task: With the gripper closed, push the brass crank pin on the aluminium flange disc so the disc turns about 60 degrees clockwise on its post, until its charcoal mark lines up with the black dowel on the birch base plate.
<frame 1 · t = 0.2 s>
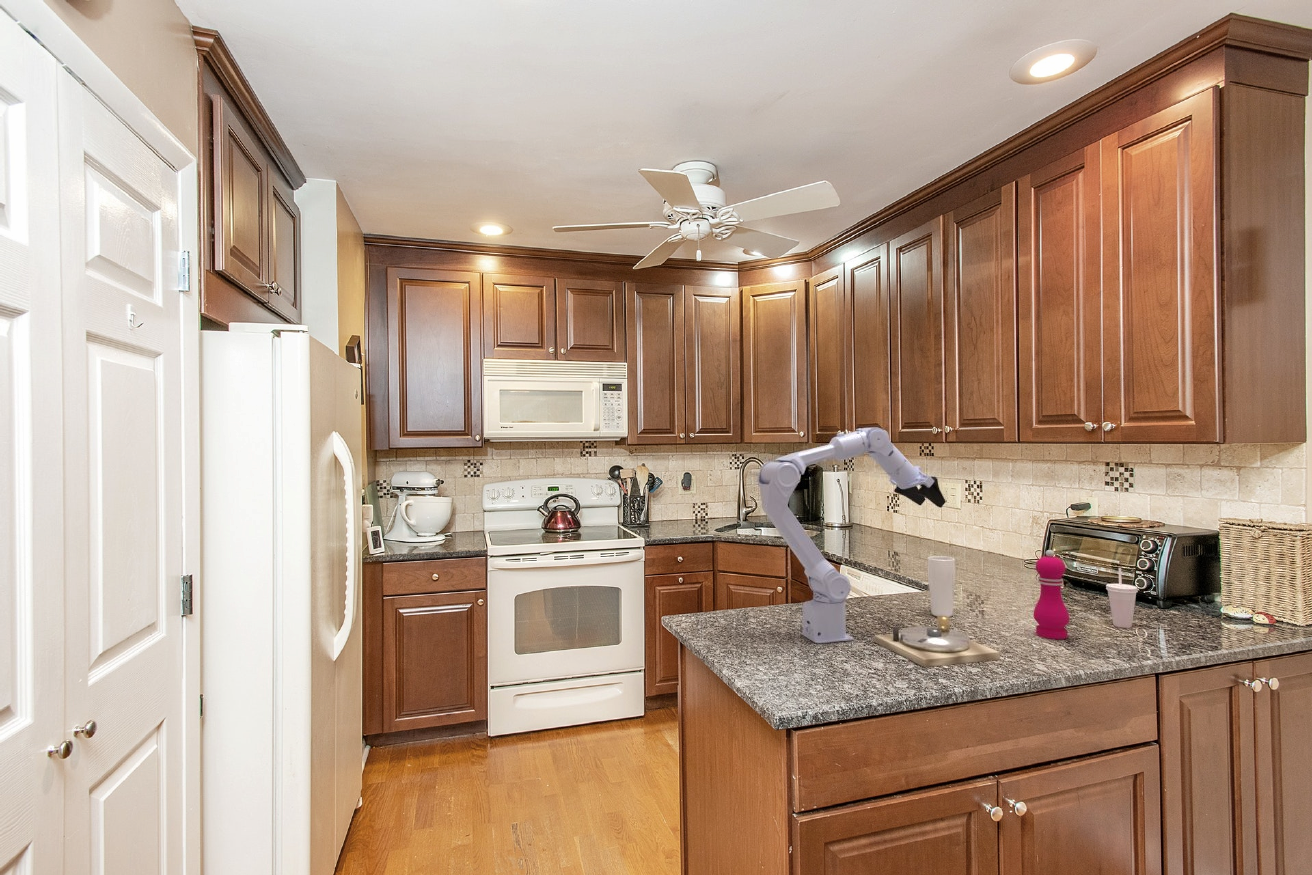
hand: (932, 503, 162), 31 cm above the table, tool tilted 45°, fingers open, 7 cm apart
pepper mill: (1051, 636, 155), on the table
flange disc: (934, 631, 145), point 4 cm above the table, hinge at 0.0°
base plate: (934, 650, 145), on the table
drinking glass: (942, 615, 174), on the table
smoothie: (1122, 626, 162), on the table
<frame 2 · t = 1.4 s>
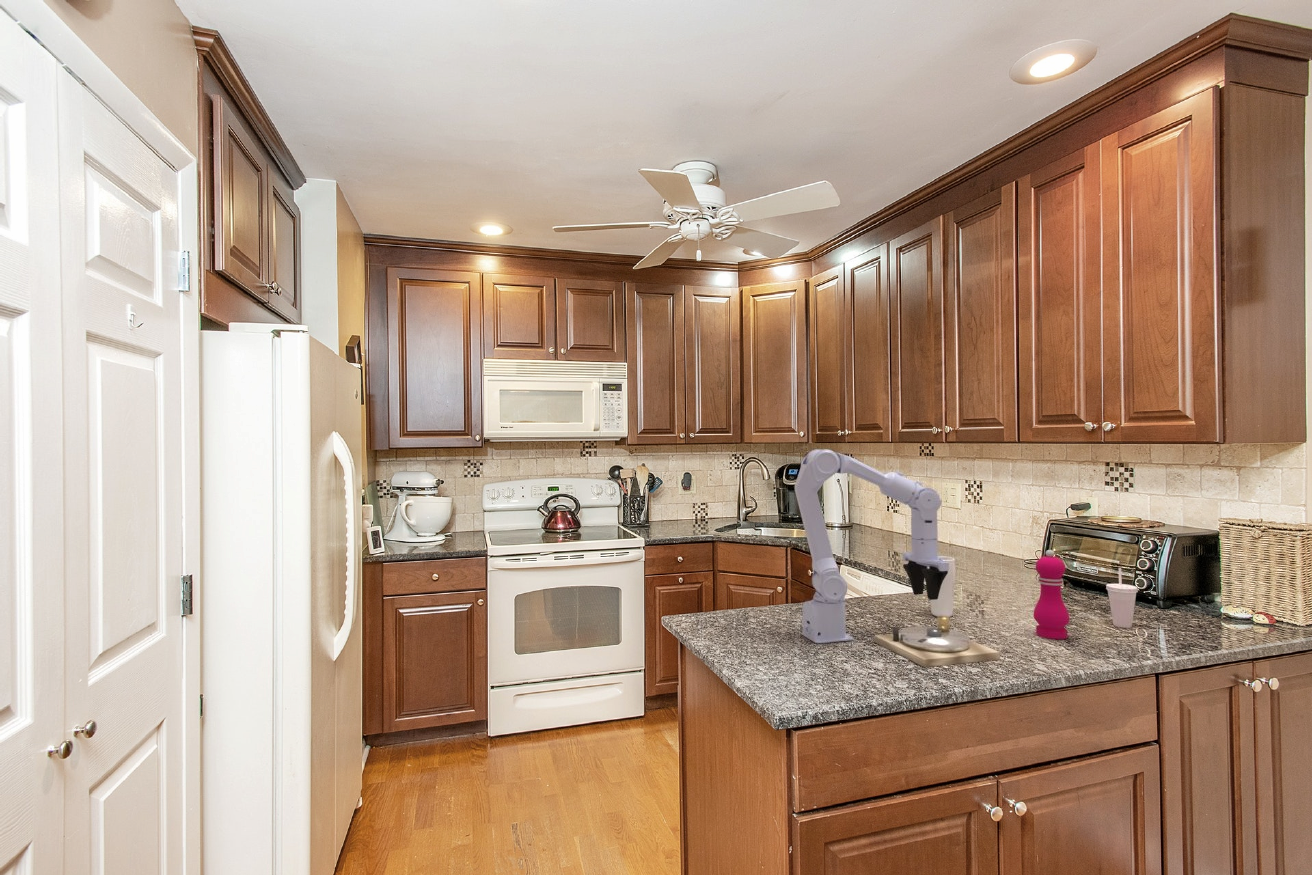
hand: (925, 596, 155), 9 cm above the table, tool pointing down, fingers open, 5 cm apart
nothing on the table moved.
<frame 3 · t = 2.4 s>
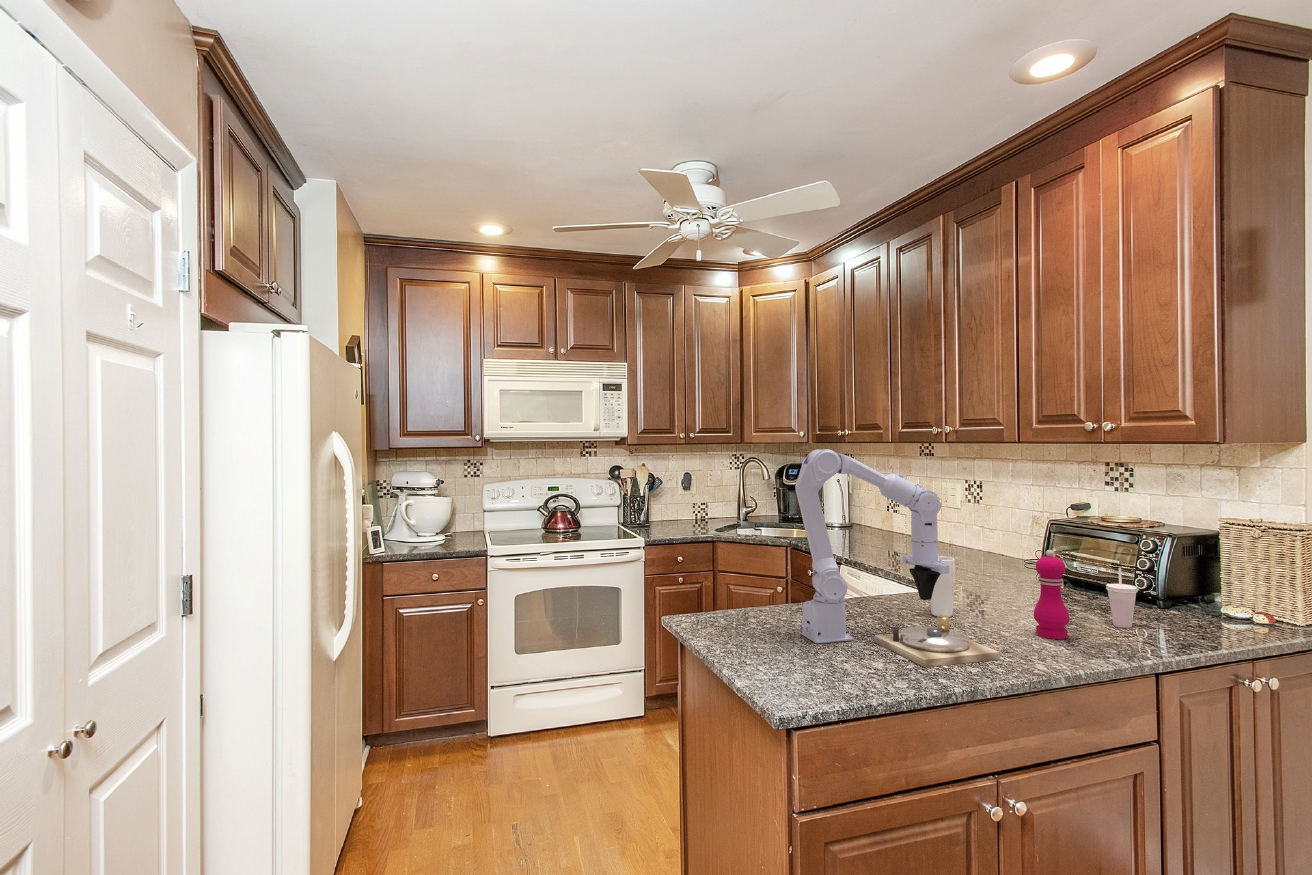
hand: (925, 599, 155), 9 cm above the table, tool pointing down, fingers closed
nothing on the table moved.
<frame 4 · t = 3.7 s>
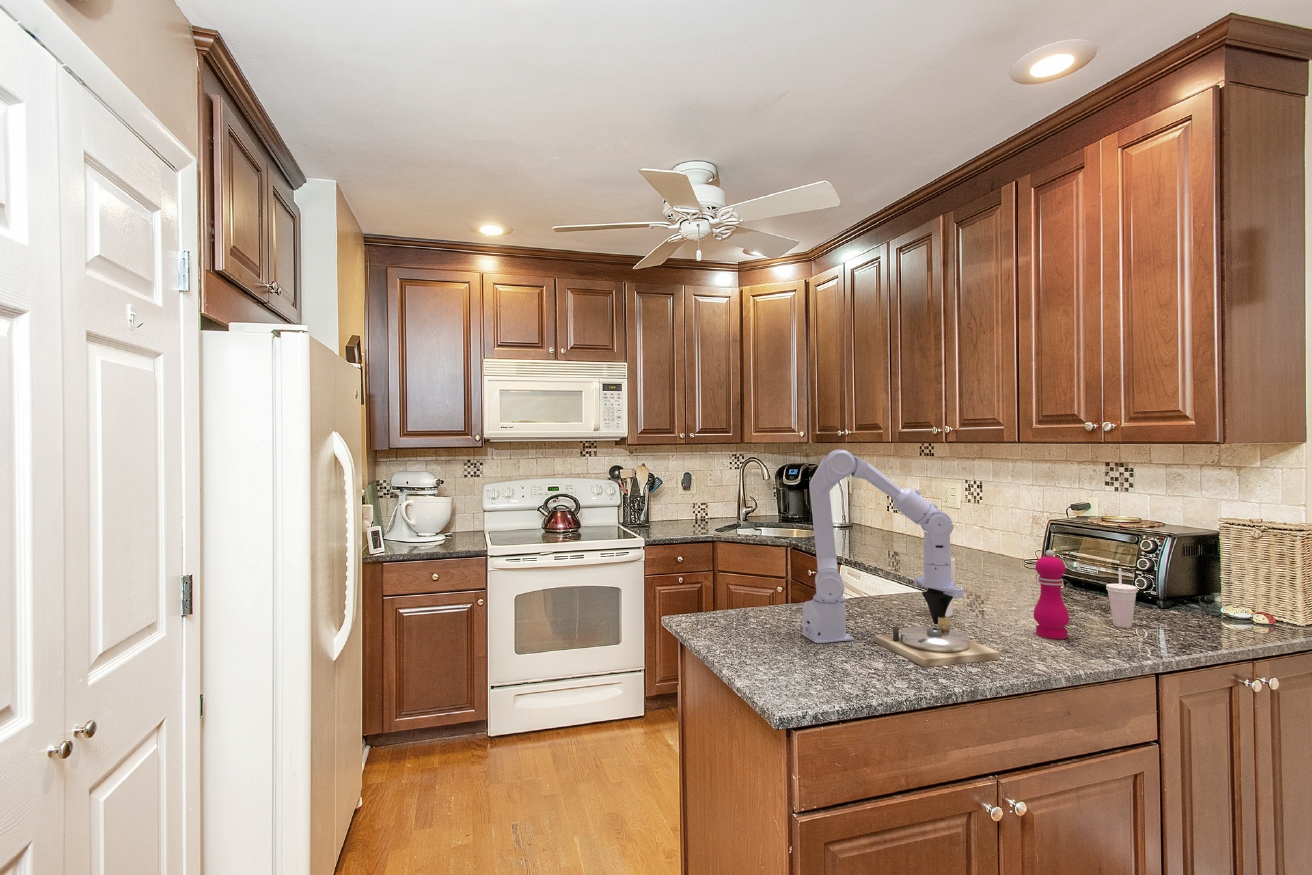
hand: (938, 623, 150), 4 cm above the table, tool pointing down, fingers closed
flange disc: (934, 631, 145), point 4 cm above the table, hinge at 0.1°, touching gripper
everything else where it was.
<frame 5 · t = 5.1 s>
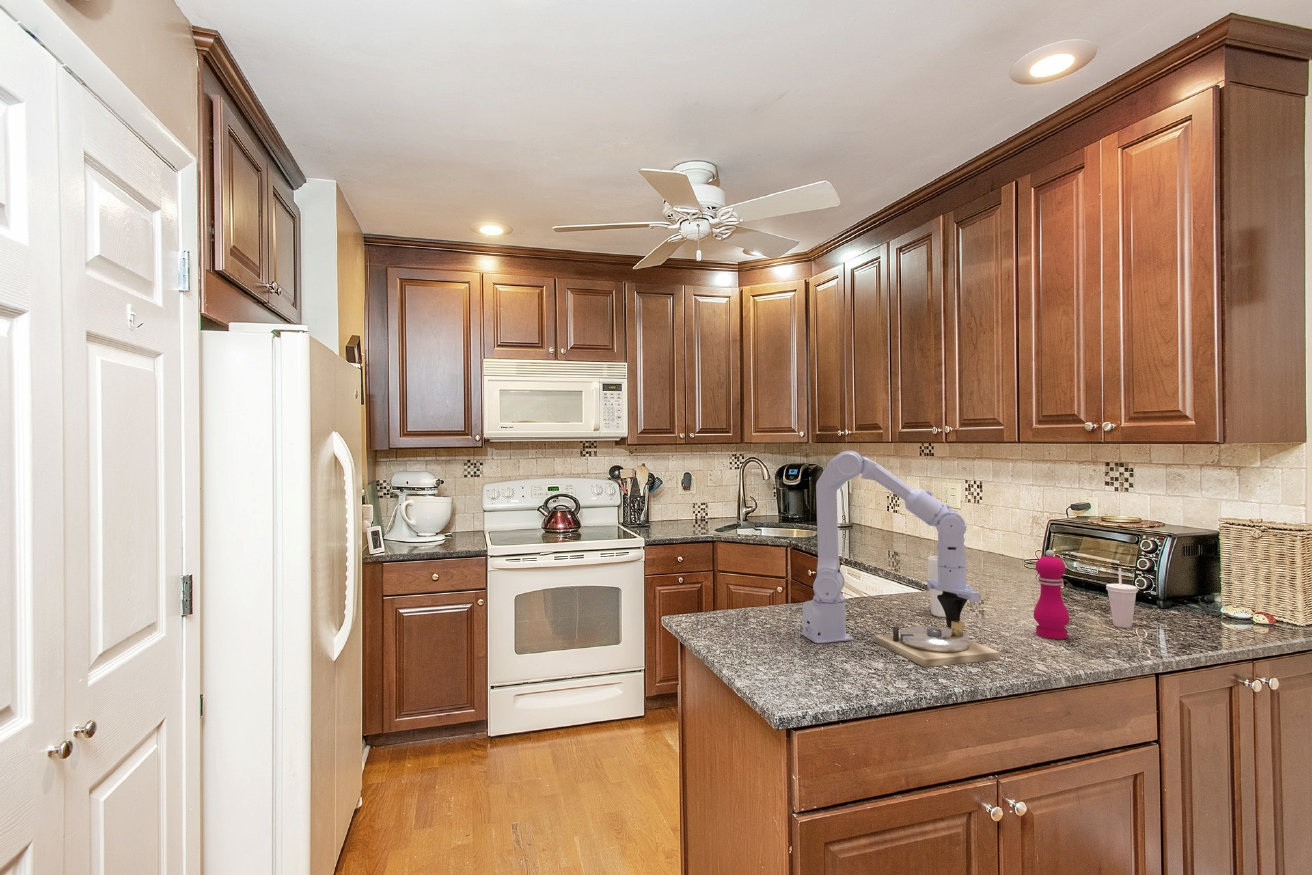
hand: (953, 627, 146), 5 cm above the table, tool pointing down, fingers closed, pressing on flange disc
flange disc: (934, 631, 145), point 4 cm above the table, hinge at 46.4°, touching gripper
everything else where it was.
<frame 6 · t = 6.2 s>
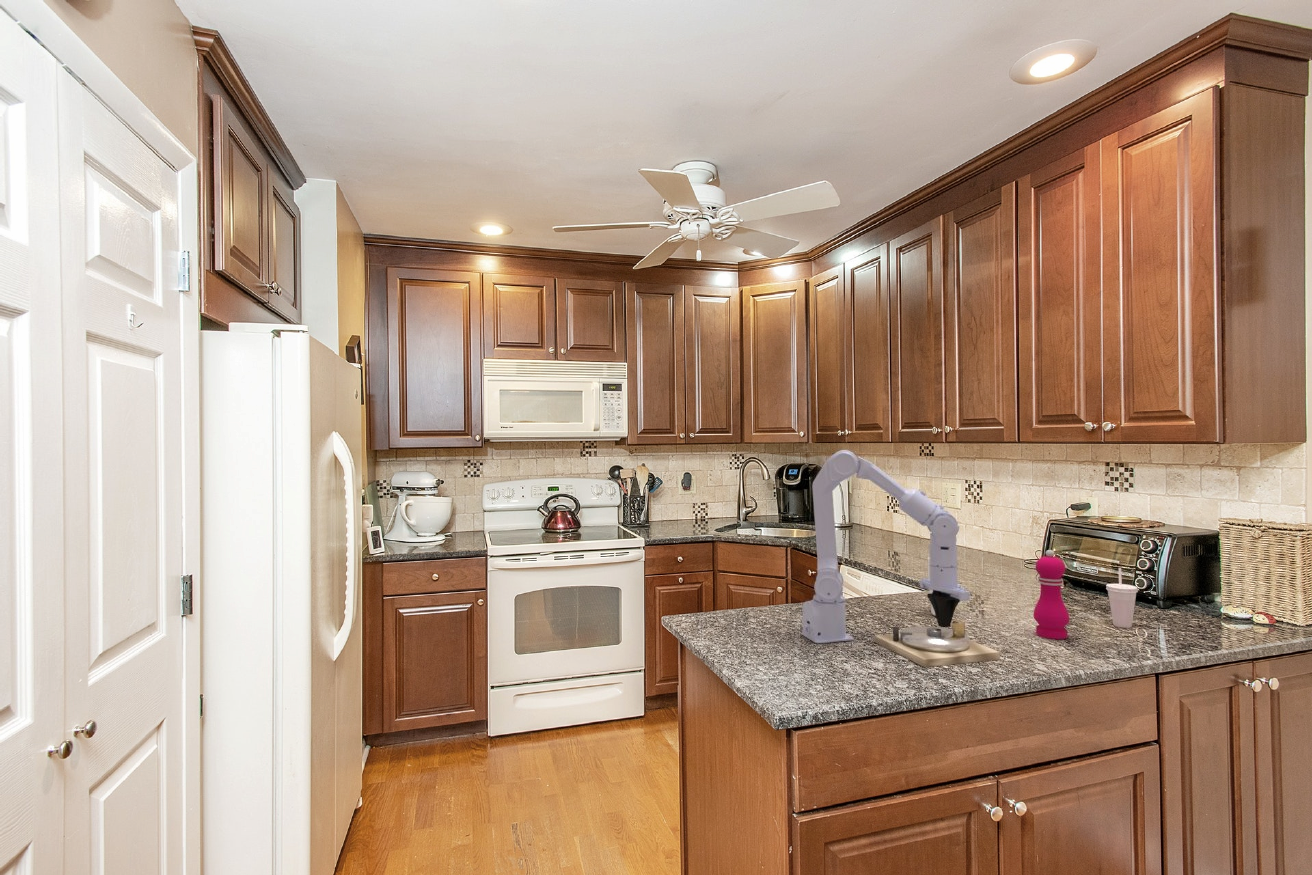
hand: (944, 626, 148), 4 cm above the table, tool pointing down, fingers closed
flange disc: (934, 631, 145), point 4 cm above the table, hinge at 56.9°
everything else where it was.
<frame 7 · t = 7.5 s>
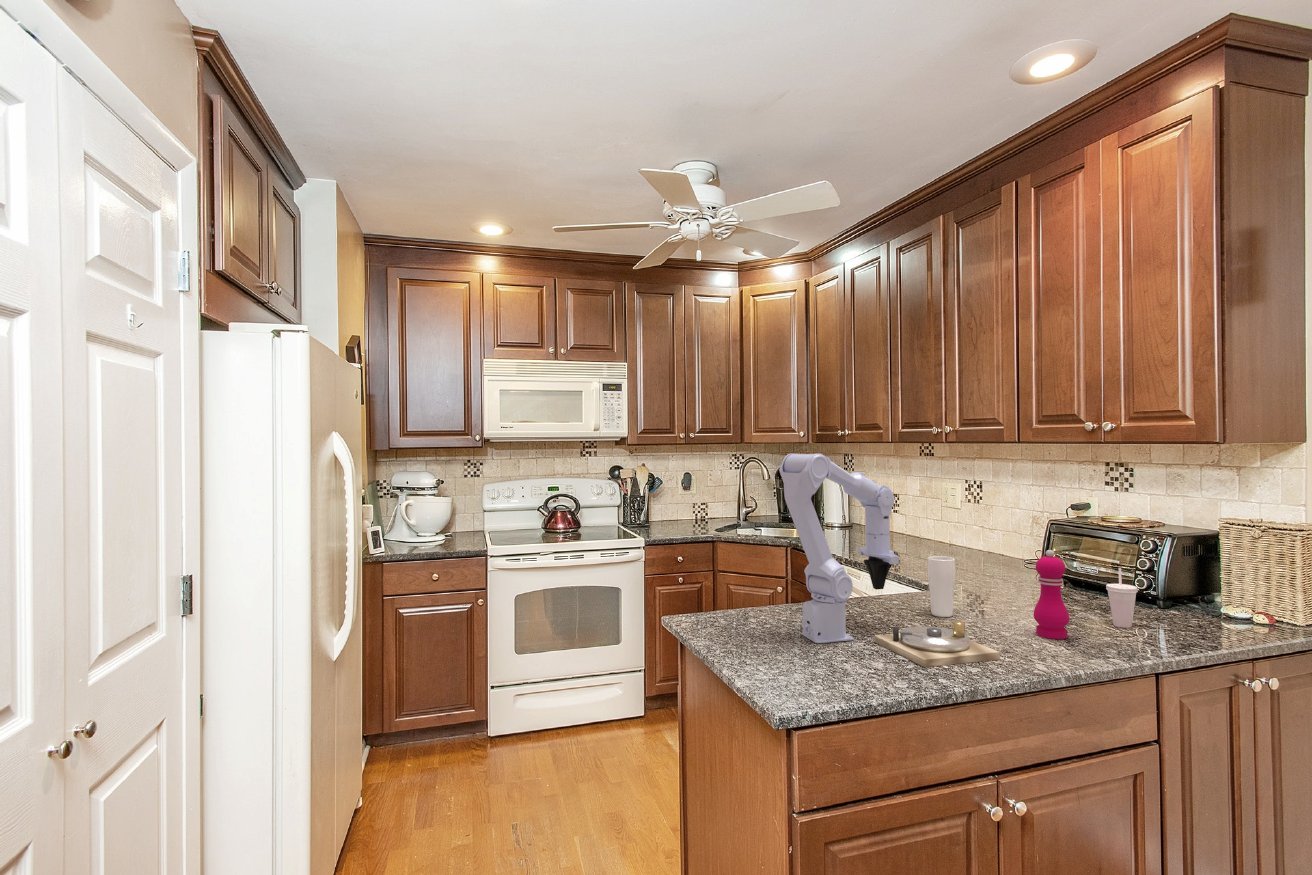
hand: (878, 588, 164), 9 cm above the table, tool pointing down, fingers closed
nothing on the table moved.
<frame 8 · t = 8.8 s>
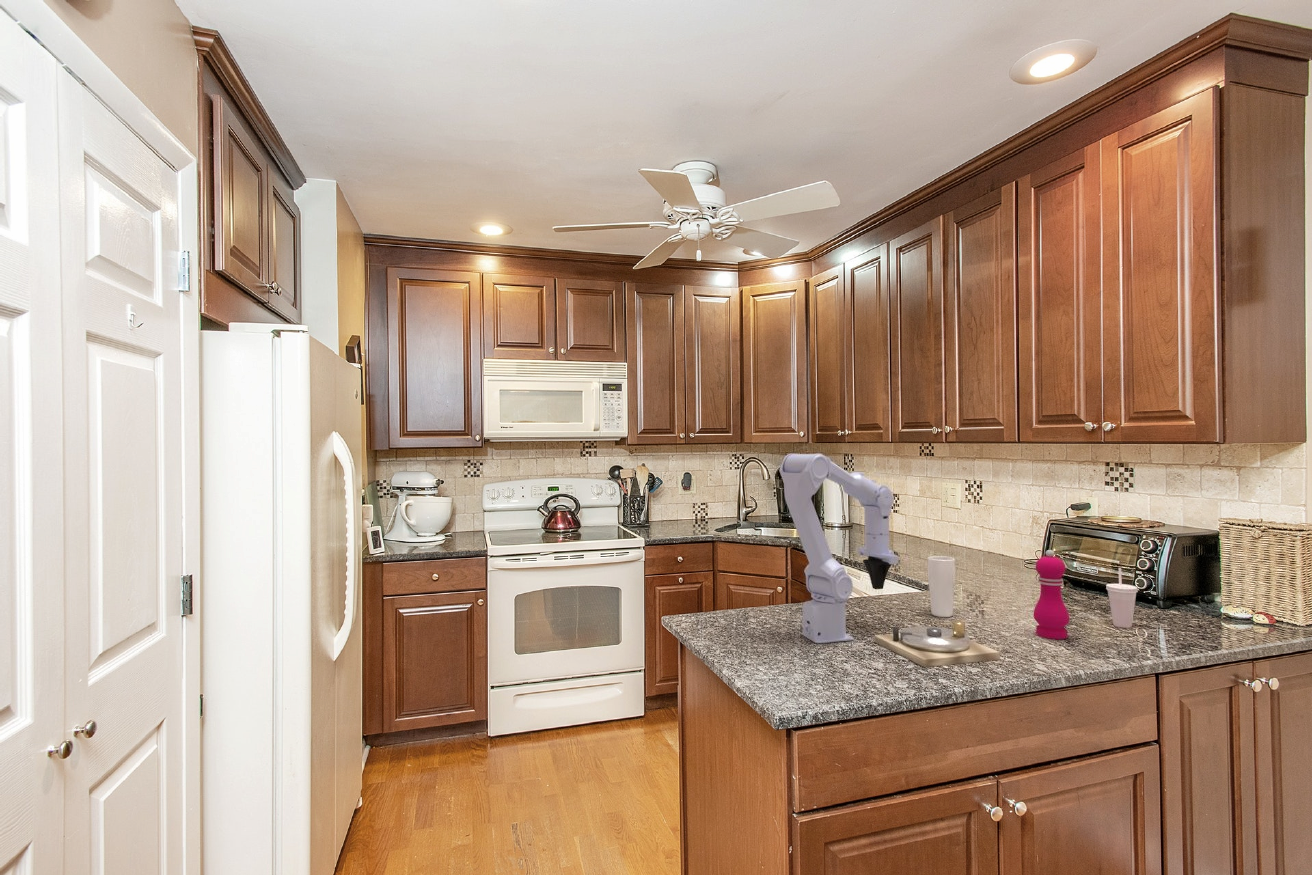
hand: (877, 588, 164), 9 cm above the table, tool pointing down, fingers closed
nothing on the table moved.
at the end: flange disc at +57° (first picture: +0°) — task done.
